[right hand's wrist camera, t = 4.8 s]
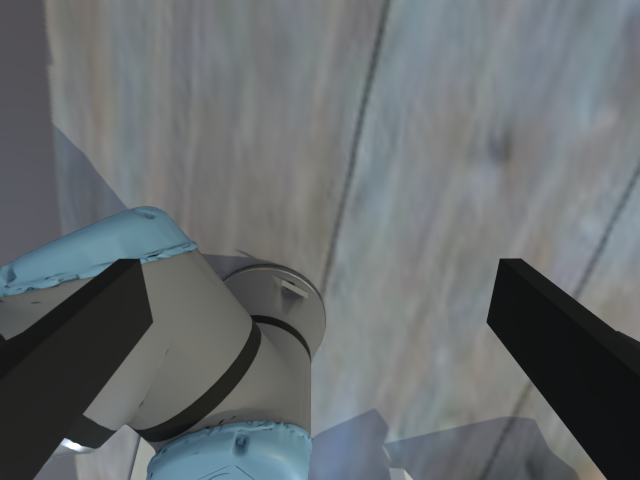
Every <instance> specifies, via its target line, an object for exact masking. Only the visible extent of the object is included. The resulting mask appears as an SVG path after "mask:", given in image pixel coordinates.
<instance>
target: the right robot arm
mask: <svg viewBox="0 0 640 480" xmlns="http://www.w3.org/2000/svg"><path fill="white" fill-rule="evenodd" d="M198 247H199V246H198V244H197V243H196V242H192V241H191V240H190V239H189V238H188V237H187V236H186V234H185V233H184V232H183V231H182V230H181V229H180V228H179V226H178V225H177V224H176V223H175V222H174V221H173V220H172V218H171V217H170V216H169V215H168V214H167V213H166V212H164V211H163V210H161V209H158V208H155V207H150V206H143V207H136V208H133V209H129V210H127V211H124V212H121V213H119V214H116V215H113V216H111V217H108V218H106V219H103V220H101V221H98V222H96V223H94V224H91V225H89V226H87V227H84V228H82V229H80V230H77V231H75V232H73V233H70V234H68V235H66V236H64V237H61V238H59V239H57V240H55V241H52V242H50V243H48V244H46V245H44V246H42V247H40V248H37V249H35V250H33V251H31V252H29V253H27V254H25V255H23V256H21V257H19V258H17V259H16V260H14V261H12V262H10V263H8V264H6V265H5V266H3V267H1V268H0V480H33V479H34V477H35V476H36V475H37V473H38V472H39V471H40V470H41V469H42V468H43V467H44V466H45V465H46V464H47V463H48V462H49V461H50V460H52V459H54V458H57V457H60V456H65V455H76V454H87V453H92V452H95V451H96V450H97V449H98V448H100V447H101V446H102V445H103V444H104V443H105V442H106V441H107V440H108V439H109V438H110V437H111V436H112V435H113V434H114V433H115V432H116V431H117V430H119V429H120V428H121V427H122V426H123V425H125V424H127V425H128V426H130V427H131V428H132V429H133V430H134V431H136V432H137V433H138V434H139V435H140V436H141V437H142V438H143V439H144V440H145V441H146V442H147V443H148V444H150V445H151V446H152V447H153V449H154V450H155V455H154V456H153V457H152V458H151V460H150V462H149V464H148V466H147V477H146V480H307V479H308V473H309V464H310V456H311V450H312V447H313V444H312V439H311V362H312V360H313V358H314V356H315V354H316V352H317V349H318V348H319V346H320V344H321V342H322V339H323V336H324V332H325V326H326V315H325V307H324V303H323V300H322V298H321V296H320V294H319V292H318V291H317V289H316V288H315V287H314V285H313V284H312V283H311V282H310V281H309V280H308V279H306V278H305V277H304V276H302V275H301V274H299V273H297V272H296V271H294V270H291V269H289V268H286V267H282V266H278V265H270V264H260V265H253V266H248V267H245V268H242V269H240V270H237V271H236V272H234V273H232V274H231V275H229V276H228V277H227V278H225V279H224V280H223V281H222V279H221V278H220V277H219V276H218V274H217V273H216V272H215V270H214V269H213V268H212V267H211V265H210V264H209V263H208V262H207V260H206V259H205V258H204V256H203V255H202V254H201V253H200V251H199V250H198V249H197V248H198ZM487 324H488V325H489V326H490V327H491V329H492V330H493V331H494V333H495V334H496V335H497V337H498V338H499V339H500V341H501V342H502V343H503V344H504V346H505V347H506V348H507V350H508V351H509V352H510V354H511V355H512V356H513V357H514V359H515V360H516V361H517V363H518V364H519V365H520V367H521V368H522V369H523V371H524V372H525V373H526V374H527V376H528V377H529V378H530V380H531V381H532V382H533V384H534V385H535V386H536V387H537V389H538V390H539V391H540V393H541V394H542V395H543V397H544V398H545V399H546V401H547V402H548V403H549V404H550V406H551V407H552V408H553V410H554V411H555V412H556V414H557V415H558V416H559V417H560V419H561V420H562V421H563V423H564V424H565V425H566V427H567V428H568V429H569V431H570V432H571V433H572V434H573V436H574V437H575V438H576V440H577V441H578V442H579V444H580V445H581V446H582V447H583V449H584V450H585V451H586V453H587V454H588V455H589V457H590V458H591V459H592V461H593V462H594V463H595V464H596V466H597V467H598V468H599V470H600V471H601V472H602V474H603V475H604V476H605V477H606V479H607V480H640V342H639V341H637V340H635V339H633V338H631V337H629V336H627V335H625V334H623V333H621V332H619V331H615V330H614V329H613V328H611V327H610V326H609V325H607V324H606V323H605V322H603V321H602V320H601V319H599V318H598V317H597V316H595V315H594V314H593V313H592V312H590V311H589V310H588V309H586V308H585V307H584V306H582V305H581V304H580V303H578V302H577V301H576V300H575V299H573V298H572V297H571V296H569V295H568V294H567V293H565V292H564V291H563V290H561V289H560V288H559V287H558V286H556V285H555V284H554V283H552V282H551V281H550V280H548V279H547V278H546V277H544V276H543V275H542V274H540V273H539V272H538V271H537V270H535V269H534V268H533V267H531V266H530V265H529V264H527V263H526V262H525V261H523V260H522V259H500V261H499V265H498V270H497V275H496V280H495V284H494V289H493V294H492V299H491V303H490V308H489V313H488V317H487Z"/></svg>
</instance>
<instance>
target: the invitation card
mask: <svg viewBox="0 0 640 480" xmlns="http://www.w3.org/2000/svg"><path fill="white" fill-rule="evenodd" d="M154 455H155V450H154V449H153V447H152V446H151V445H150V444H148V443H147V442H146V441H145V440H144V439H143V438H142V437H141V439H140V443H139V447H138V451H137V455H136V459H135V463H134V467H133V471H132V475H131V479H130V480H146V477H147V466H148V464H149V462H150V460H151V458H152V457H153V456H154Z"/></svg>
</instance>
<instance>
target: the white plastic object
mask: <svg viewBox="0 0 640 480" xmlns="http://www.w3.org/2000/svg"><path fill="white" fill-rule="evenodd" d="M389 472H390V477H391V480H413V479H412V478H411V477H410V476H409V475H408V473H407V472H406V471H405V470H404V469H399V468H389Z"/></svg>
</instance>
